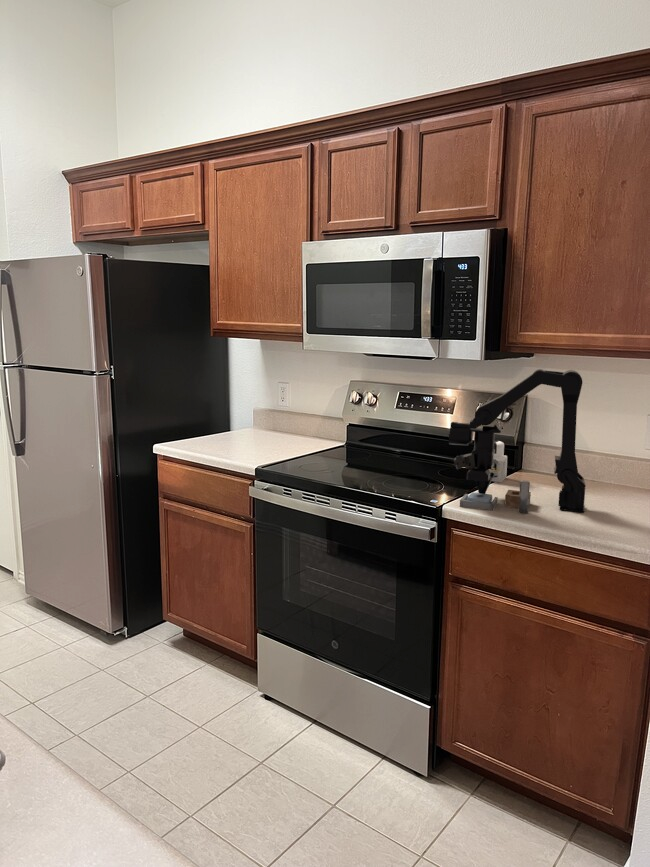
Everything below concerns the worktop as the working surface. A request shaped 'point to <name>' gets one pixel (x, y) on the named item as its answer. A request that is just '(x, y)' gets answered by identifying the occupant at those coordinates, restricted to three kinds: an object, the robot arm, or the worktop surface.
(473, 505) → the tray
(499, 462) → the container
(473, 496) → the block
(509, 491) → the go block
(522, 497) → the cylinder
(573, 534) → the worktop surface
